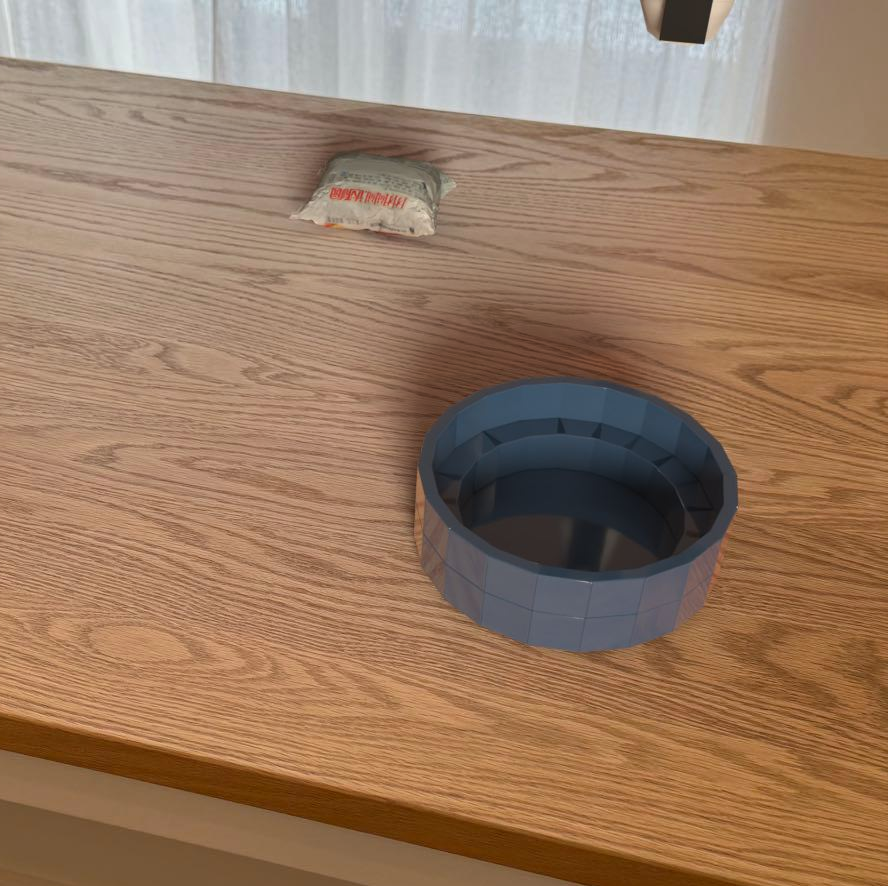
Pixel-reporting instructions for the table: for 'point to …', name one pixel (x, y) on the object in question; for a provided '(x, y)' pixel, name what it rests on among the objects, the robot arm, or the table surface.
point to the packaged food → (377, 194)
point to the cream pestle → (654, 11)
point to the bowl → (573, 512)
